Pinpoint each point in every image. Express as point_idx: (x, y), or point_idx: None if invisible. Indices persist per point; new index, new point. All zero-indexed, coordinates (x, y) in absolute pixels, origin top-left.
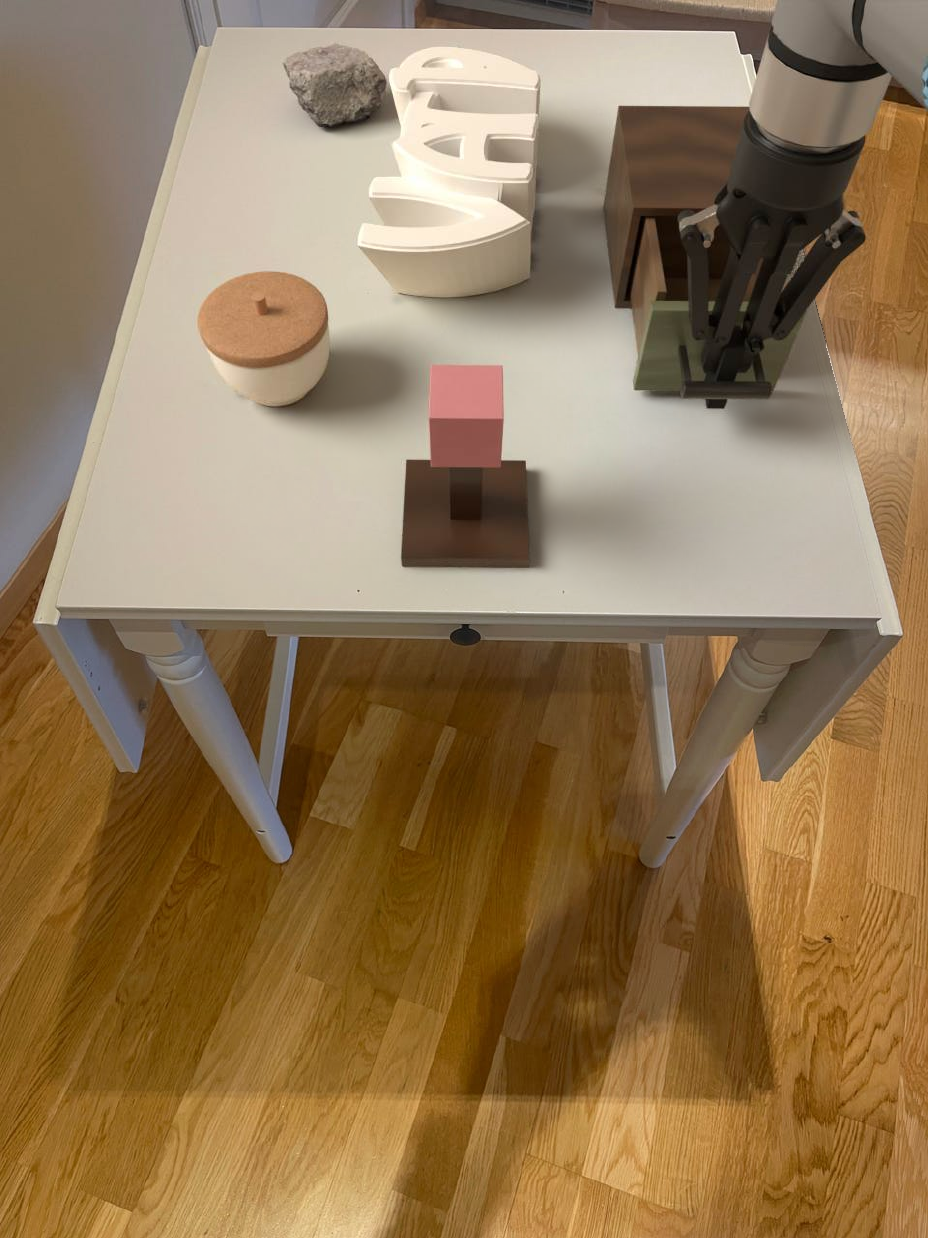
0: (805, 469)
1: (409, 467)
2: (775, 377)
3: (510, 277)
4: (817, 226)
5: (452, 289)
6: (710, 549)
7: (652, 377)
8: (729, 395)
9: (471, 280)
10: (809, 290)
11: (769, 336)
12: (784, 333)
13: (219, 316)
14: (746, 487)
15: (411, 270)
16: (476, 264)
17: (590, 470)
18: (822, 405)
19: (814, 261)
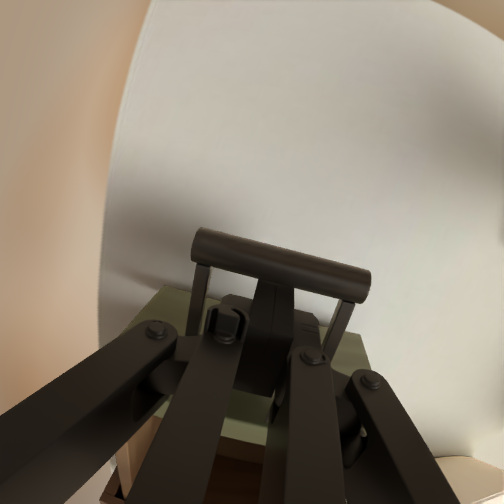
0: (165, 145)
1: None
2: (159, 297)
3: None
4: None
5: (451, 462)
6: (355, 44)
7: (344, 344)
8: (282, 249)
9: (442, 471)
10: (50, 418)
11: (181, 339)
12: (147, 329)
13: None
14: (263, 128)
15: (496, 473)
16: (452, 485)
17: (459, 221)
18: (109, 251)
19: (24, 499)
